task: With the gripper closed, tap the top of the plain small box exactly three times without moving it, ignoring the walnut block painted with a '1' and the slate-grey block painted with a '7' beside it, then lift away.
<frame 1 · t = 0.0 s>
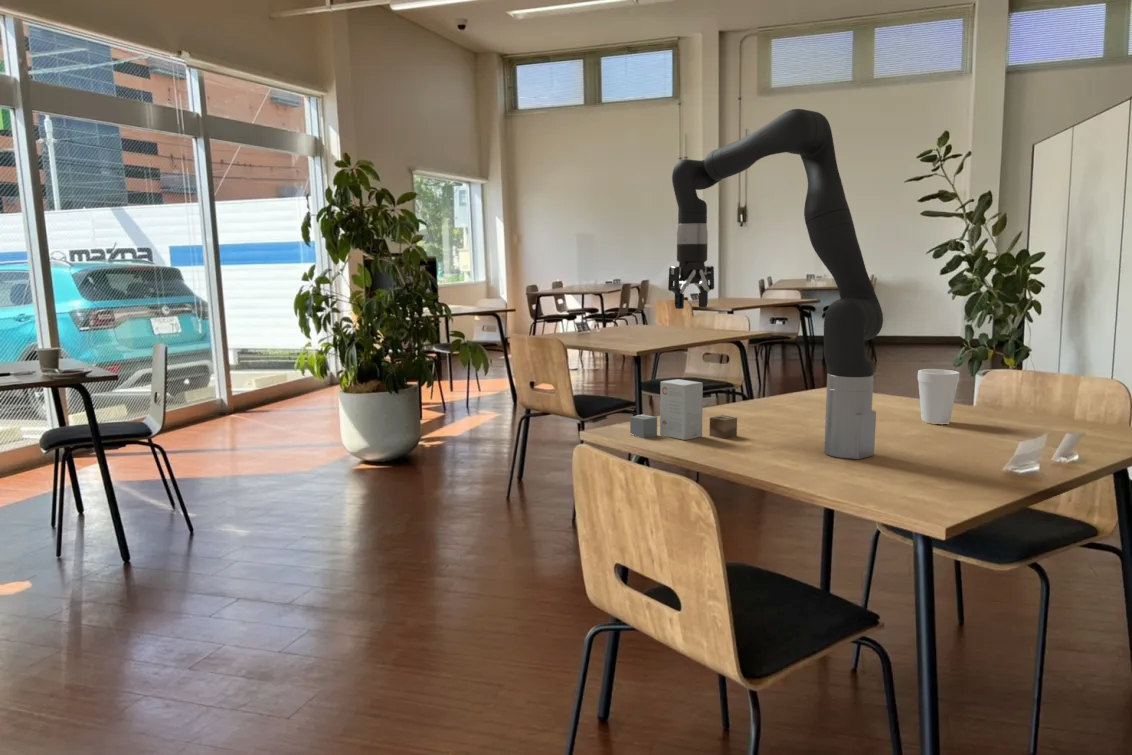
hand: (691, 307, 203), 29 cm above the table, tool pointing down, fingers open, 8 cm apart
walnut block one: (723, 436, 191), on the table
small box: (681, 436, 191), on the table
foam cup: (935, 423, 204), on the table
slate block seven: (643, 435, 193), on the table
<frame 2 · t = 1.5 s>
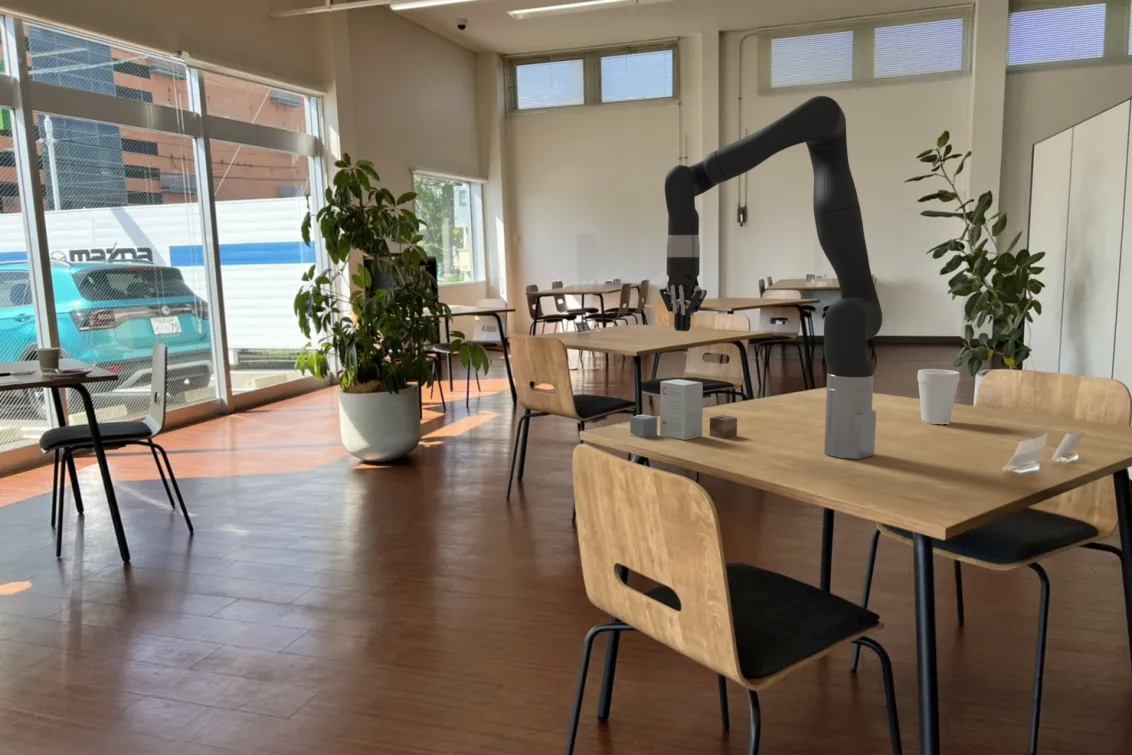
hand: (682, 330, 188), 25 cm above the table, tool pointing down, fingers closed
nothing on the table moved.
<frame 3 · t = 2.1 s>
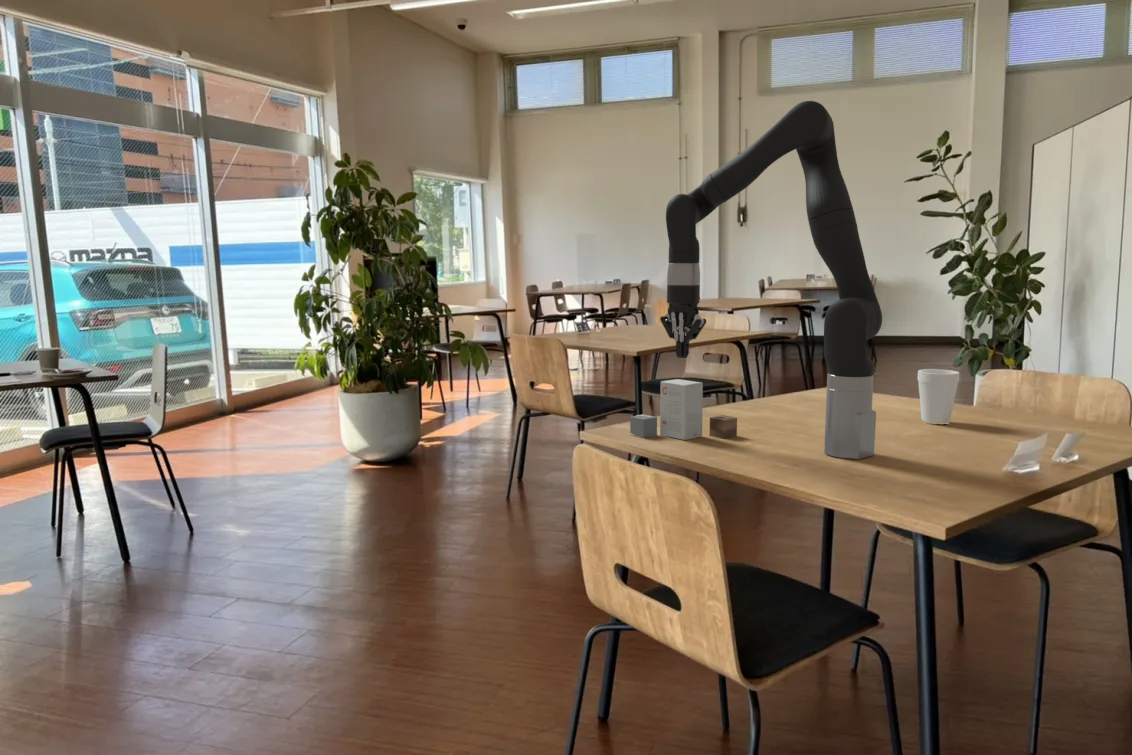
hand: (682, 357, 189), 19 cm above the table, tool pointing down, fingers closed
nothing on the table moved.
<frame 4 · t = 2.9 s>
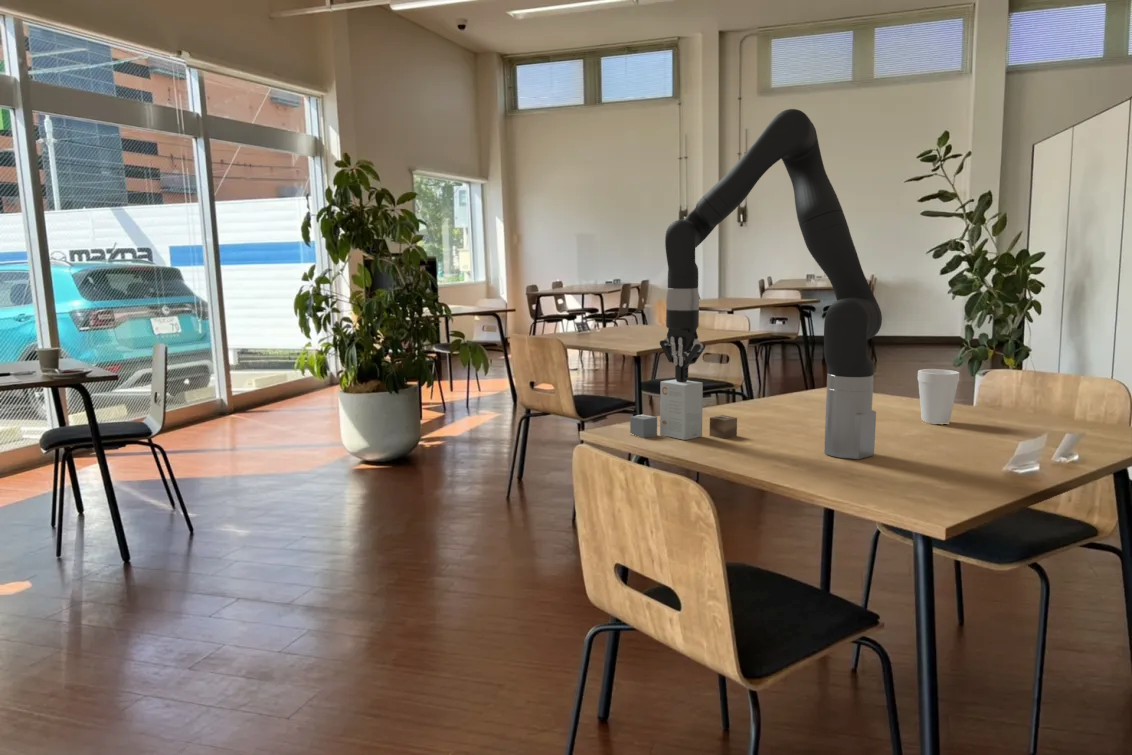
hand: (681, 381, 189), 13 cm above the table, tool pointing down, fingers closed
small box: (681, 436, 191), on the table, touching gripper
everything else where it was.
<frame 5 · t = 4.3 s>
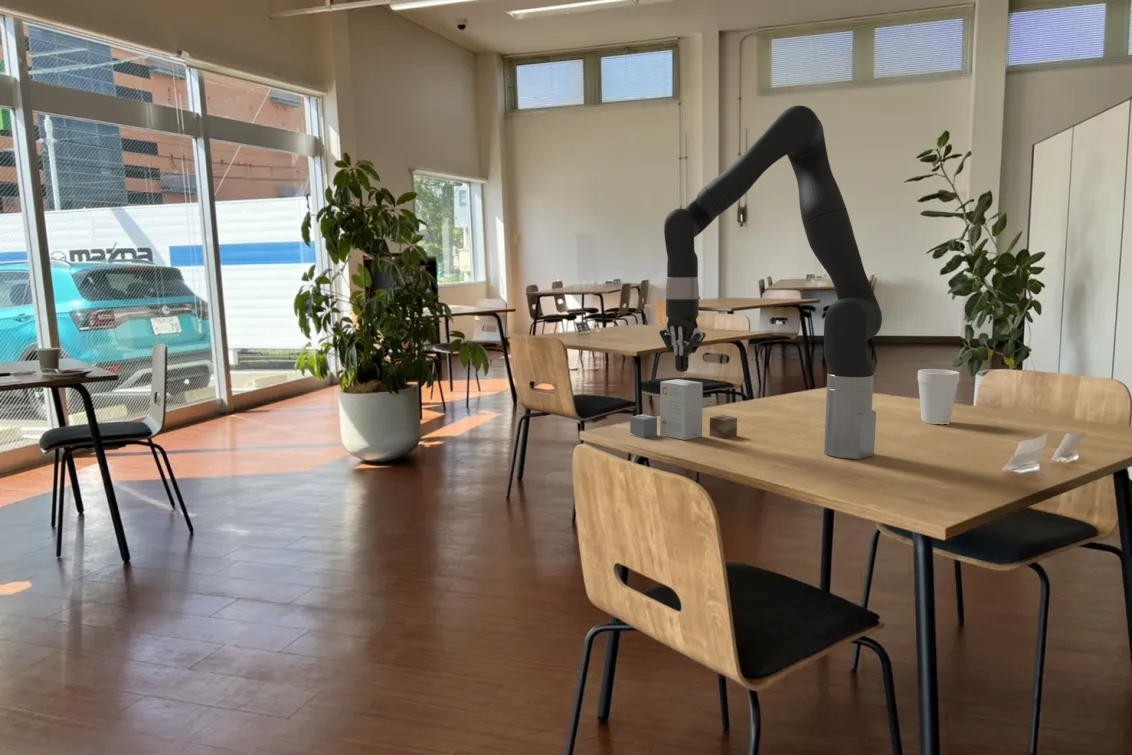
hand: (681, 371, 189), 16 cm above the table, tool pointing down, fingers closed
small box: (681, 436, 191), on the table
everything else where it was.
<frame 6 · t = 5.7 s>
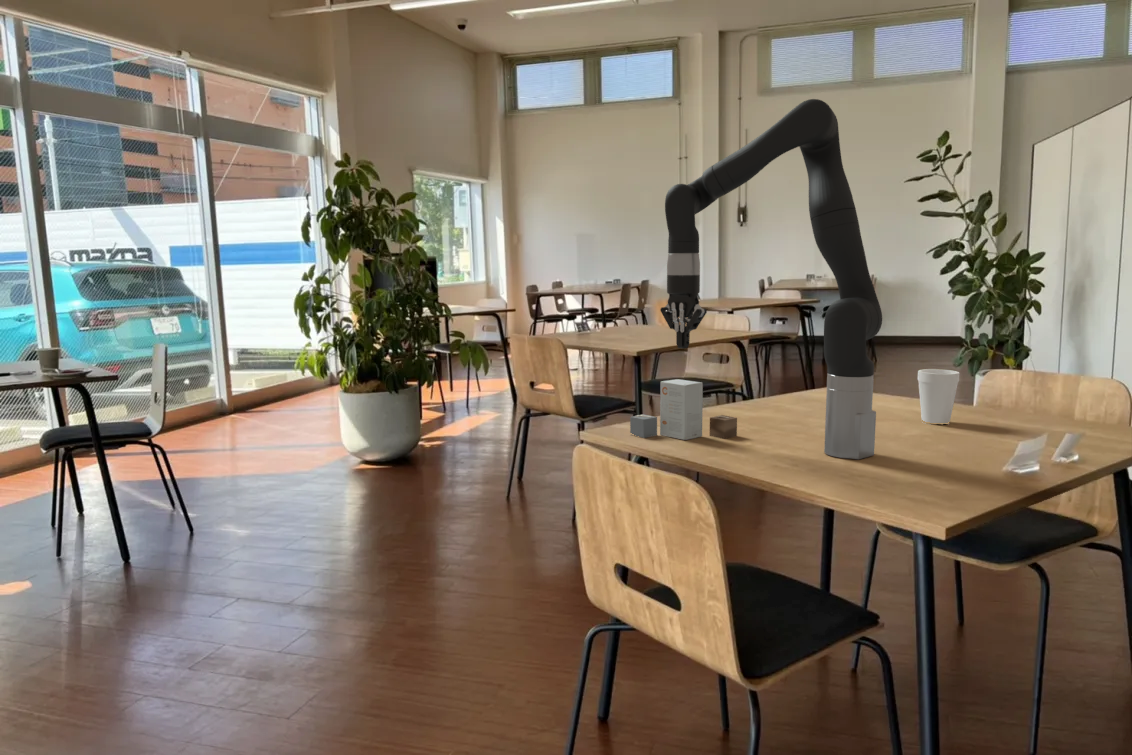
hand: (682, 348, 188), 21 cm above the table, tool pointing down, fingers closed
nothing on the table moved.
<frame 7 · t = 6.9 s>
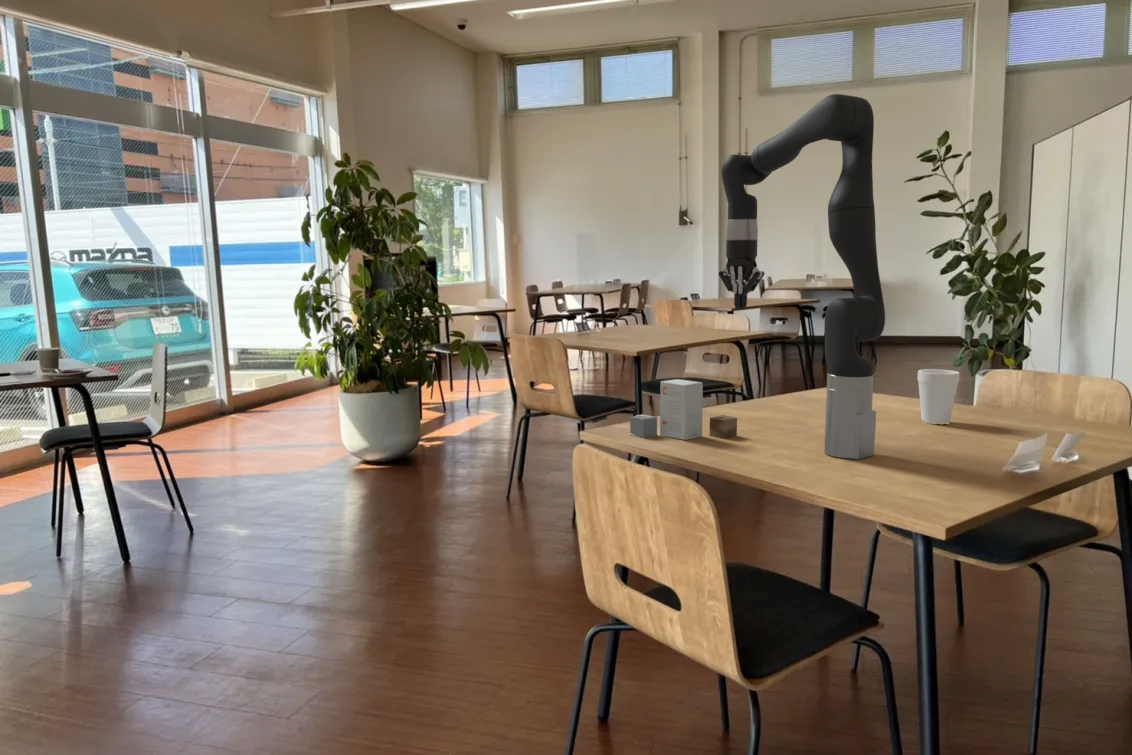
hand: (740, 309, 201), 29 cm above the table, tool pointing down, fingers closed
nothing on the table moved.
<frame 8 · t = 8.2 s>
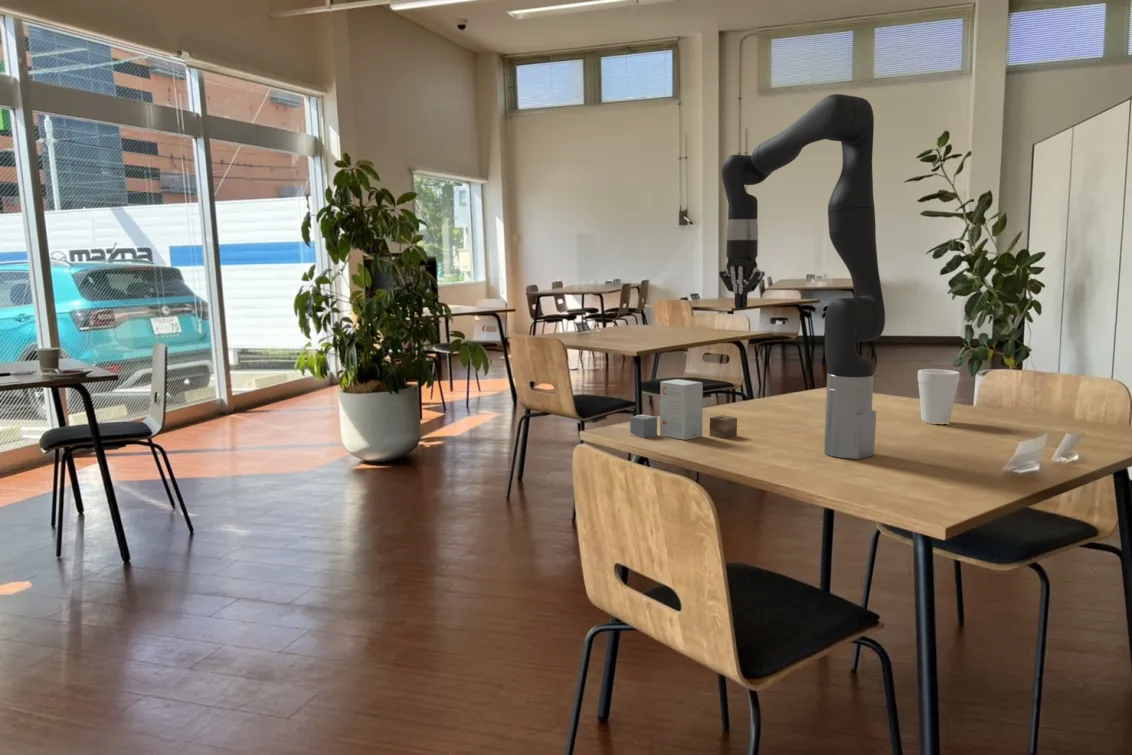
hand: (740, 309, 201), 29 cm above the table, tool pointing down, fingers closed
nothing on the table moved.
at the end: small box moved 0.2 cm from its start; small box tilted 0°; slate block seven moved 0.1 cm from its start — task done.
